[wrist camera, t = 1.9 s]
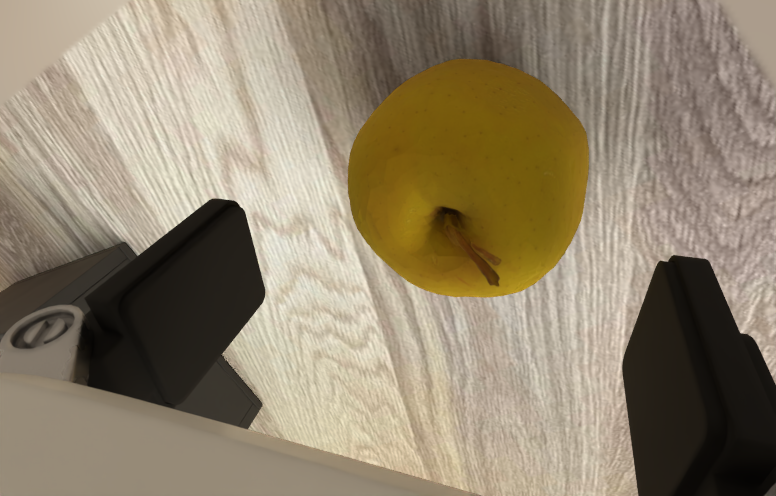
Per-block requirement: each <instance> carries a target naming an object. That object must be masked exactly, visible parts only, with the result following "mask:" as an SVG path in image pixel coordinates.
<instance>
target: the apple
mask: <svg viewBox="0 0 776 496" xmlns="http://www.w3.org/2000/svg"><path fill="white" fill-rule="evenodd" d="M588 170H589V147H588V141H587V135H586V131H585V129H584V128H583V126H582V124H581V122H580V121H579V119H578V118H577V117H576V116H575V115H574V113H573V112H572V111H571V110H570V109H569V107H568V106H567V105H566V104H565V103H564V102H563V101H562V100H561V99H560V98H559V97H558V95H557V94H555V93H554V92H553V91H552V90H551V89H550V88H549V87H547V86H546V85H545V84H544V83H543V82H541V81H540V80H538V79H536V78H535V77H533V76H531V75H529V74H527V73H525V72H523V71H521V70H519V69H517V68H513V67H510V66H507V65H504V64H500V63H496V62H492V61H489V60H481V59H455V60H449V61H446V62H444V63H441V64H438V65H435V66H433V67H431V68H429V69H427V70H425V71H423V72H421V73H419V74H417V75H415V76H413V77H411V78H410V79H408V80H407V81H405V82H404V83H403V84H401V85H400V86H399V87H398V88H396V89H395V90H394V91H393V92H392V93H391V94H390V95H389V96H388V97H387V98H386V99H385V100H384V101H383V102H382V103H381V104H380V106H379V107H378V108H377V109H376V110H375V111H374V112H373V113H372V114H371V116H370V117H369V118H368V120H367V121H366V123H365V124H364V125H363V127H362V128H361V129H360V131H359V133H358V135H357V137H356V139H355V141H354V144H353V146H352V149H351V152H350V158H349V166H348V194H349V199H350V206H351V211H352V215H353V218H354V221H355V224H356V226H357V229H358V230H359V232H360V233H361V235H362V236H363V238H364V239H365V241H366V242H367V243H368V244H369V245H370V247H371V248H372V249H373V251H374V252H375V253H376V254H377V255H378V256H379V257H380V258H381V259H382V260H383V261H385V262H386V263H387V264H388V265H389V266H390V267H391V268H392V269H393V270H394V271H396V272H397V273H398V274H399V275H400V276H402V277H403V278H404V279H406V280H407V281H408V282H410V283H412V284H414V285H415V286H417V287H419V288H422V289H424V290H427V291H430V292H433V293H436V294H440V295H447V296H453V297H496V296H504V295H508V294H512V293H516V292H520V291H522V290H524V289H526V288H528V287H529V286H531V285H533V284H535V283H536V282H537V281H538V280H540V279H541V278H542V277H543V276H544V275H545V274H546V273H548V272H549V271H550V270H551V269H552V268H554V266H555V265H556V264H557V263H558V261H559V260H560V259H561V257H562V256H563V255H564V253H565V251H566V250H567V248H568V246H569V245H570V243H571V241H572V239H573V237H574V235H575V233H576V231H577V228H578V226H579V224H580V221H581V217H582V214H583V208H584V201H585V194H586V187H587V180H588Z"/></svg>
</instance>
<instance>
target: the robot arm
mask: <svg viewBox="0 0 776 496" xmlns="http://www.w3.org/2000/svg"><path fill="white" fill-rule="evenodd" d="M264 298H265V287H264V284H263V280H262V276H261V272H260V268H259V264H258V260H257V256H256V253H255V249H254V245H253V241H252V237H251V233H250V229H249V226H248V222H247V218H246V214H245V211H244V210H243V208H241V207H240V206H239V204H238V203H237V202H235V201H232V200H224V199H211V200H209V201H208V202H206V203H205V204H204V205H203V206H201V207H200V208H199V209H198V210H196V211H195V212H194V213H192V214H191V215H190V216H189V217H187V218H186V219H185V220H183V221H182V222H181V223H180V224H178V225H177V226H176V227H175V228H173V229H172V230H171V231H169V232H168V233H167V234H166V235H164V236H163V237H162V238H160V239H159V240H158V241H157V242H155V243H154V244H153V245H151V246H150V247H149V248H148V249H146V250H145V251H144V252H143V253H141V254H140V255H139V256H137V257H136V258H135V259H134V260H132V261H131V262H130V263H128V264H127V265H126V266H125V267H123V268H122V269H121V270H120V271H118V272H117V273H116V274H114V275H113V276H112V277H111V278H109V279H108V280H107V281H105V282H104V283H103V284H102V285H100V286H99V287H98V288H96V289H95V290H94V291H93V292H91V293H90V294H89V295H88V296H86V297H85V298H84V299H85V301H86V302H87V304H88V306H89V308H90V311H89V312H88V313H87V314H85V315H84V314H83V312H82V311H81V310H80V309H79V307H76V306H73V305H56V306H50V307H47V308H44V309H41V310H38V311H36V312H34V313H32V314H30V315H28V316H25V317H24V318H22V319H21V320H19V321H18V322H17V323H15V324H14V325H13V326H12V327H11V328H10V329H9V330H8V331H7V332H6V333H5V335H4V336H3V338H2V340H1V342H0V496H481V495H478V494H474V493H471V492H467V491H464V490H460V489H457V488H453V487H450V486H446V485H443V484H439V483H436V482H432V481H429V480H425V479H422V478H418V477H415V476H411V475H408V474H404V473H401V472H397V471H394V470H390V469H387V468H383V467H380V466H376V465H373V464H369V463H366V462H362V461H358V460H355V459H351V458H348V457H344V456H341V455H337V454H334V453H330V452H326V451H323V450H319V449H316V448H312V447H309V446H305V445H301V444H298V443H294V442H291V441H287V440H284V439H280V438H276V437H273V436H269V435H266V434H262V433H258V432H255V431H251V430H248V429H244V428H240V427H237V426H233V425H230V424H226V423H222V422H219V421H215V420H212V419H208V418H204V417H201V416H197V415H193V414H190V413H186V412H182V411H179V410H175V409H174V408H175V407H176V405H179V404H181V403H183V402H184V401H185V400H186V399H187V397H188V396H189V395H190V394H191V392H192V391H193V390H194V389H195V387H196V386H197V385H198V384H199V382H200V381H201V380H202V379H203V377H204V376H205V375H206V373H207V372H208V371H209V370H210V368H211V367H212V366H213V365H214V363H215V362H216V361H217V360H218V358H219V357H220V356H221V355H222V353H223V352H224V351H225V350H226V348H227V347H228V346H229V344H230V343H231V342H232V341H233V339H234V338H235V337H236V336H237V334H238V333H239V332H240V331H241V329H242V328H243V327H244V326H245V324H246V323H247V322H248V321H249V319H250V318H251V317H252V316H253V314H254V313H255V312H256V310H257V309H258V308H259V307H260V305H261V304H262V303H263V301H264ZM622 371H623V380H624V388H625V395H626V403H627V411H628V418H629V426H630V434H631V441H632V449H633V457H634V465H635V472H636V480H637V488H638V495H639V496H776V385H775V382H774V380H773V378H772V376H771V374H770V372H769V369H768V367H767V365H766V363H765V361H764V358H763V356H762V354H761V352H760V350H759V347H758V345H757V344H756V342H755V340H754V339H753V338H752V337H751V336H749V335H748V334H742V333H740V332H739V330H738V327H737V325H736V323H735V320H734V318H733V316H732V313H731V311H730V309H729V306H728V304H727V302H726V299H725V297H724V295H723V292H722V290H721V288H720V285H719V283H718V281H717V278H716V276H715V274H714V271H713V269H712V267H711V264H710V262H709V261H708V260H706V259H701V258H693V257H684V256H676V255H673V256H671V258H670V259H669V261H668V262H665V261H660V262H658V264H657V266H656V268H655V271H654V274H653V277H652V279H651V282H650V285H649V288H648V291H647V293H646V296H645V299H644V302H643V304H642V307H641V310H640V313H639V316H638V318H637V321H636V324H635V327H634V329H633V332H632V335H631V338H630V340H629V343H628V346H627V349H626V352H625V354H624V358H623V366H622Z"/></svg>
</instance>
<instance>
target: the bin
mask: <svg viewBox="0 0 776 496" xmlns="http://www.w3.org/2000/svg"><path fill="white" fill-rule="evenodd" d="M136 257H137V256H136V255H135V254H134V253H133V251H132V250H131V249H130V248H129V247H128V245H127V244H126V243H122V244H119V245H116V246H114V247H111V248H108V249H106V250H103V251H100V252H97V253H95V254H92V255H89V256H86V257H84V258H81V259H78V260H76V261H73V262H70V263H67V264H65V265H62V266H59V267H56V268H54V269H51V270H48V271H46V272H43V273H40V274H37V275H35V276H32V277H29V278H27V279H24V280H21V281H18V282H16V283H14V284H12V285H11V286H9V287H8V288H6V289H5V290H3V291H2V292H0V342H1V340H2V338H3V336H4V335H5V333H6V332H7V331H8V330H9V329H10V328H11V327H12V326H13V325H14V324H15V323H17V322H18V321H19V320H21V319H22V318H24V317H25V316H28V315H30V314H32V313H34V312H36V311H38V310H41V309H44V308H47V307H50V306H56V305H73V306H76V307H79V309H80V310H81V311H82V312H83V314H84V315H85V314H87V313H88V312H89V311H90V308H89V306H88V304H87V302H86V301H85V299H84V298H85V297H86V296H88V295H89V294H90V293H91V292H93V291H94V290H95V289H96V288H98V287H99V286H100V285H102V284H103V283H104V282H105V281H107V280H108V279H109V278H111V277H112V276H113V275H114V274H116V273H117V272H118V271H120V270H121V269H122V268H123V267H125V266H126V265H127V264H128V263H130V262H131V261H132V260H134V259H135V258H136ZM262 405H263V404H262V403H261V402H260V401H259V400H258V399H257V397H256V396H255V395H254V394H253V393H252V391H251V390H250V389H249V388H248V387H247V386H246V384H245V383H244V382H243V381H242V380H241V379H240V377H239V376H238V375H237V374H236V373H235V371H234V370H233V369H232V368H231V367H230V366H229V364H228V363H227V362H226V361H225V360H224V358H223V357H222V356H220V357H219V358H218V360H217V361H216V362H215V363H214V365H213V366H212V367H211V368H210V370H209V371H208V372H207V373H206V375H205V376H204V377H203V379H202V380H201V381H200V382H199V384H198V385H197V386H196V387H195V389H194V390H193V391H192V392H191V394H190V395H189V396H188V397H187V399H186V400H185V401H184V402H183V403H181V404H179V405H176V407H175V408H174V409H175V410H179V411H182V412H186V413H190V414H193V415H197V416H201V417H204V418H208V419H212V420H215V421H219V422H222V423H226V424H230V425H233V426H237V427H240V428H244V429H248V428H249V426H250V425H251V423H252V422H253V420H254V418H255V417H256V415H257V413H258V412H259V410H260V409H261V407H262Z"/></svg>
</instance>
